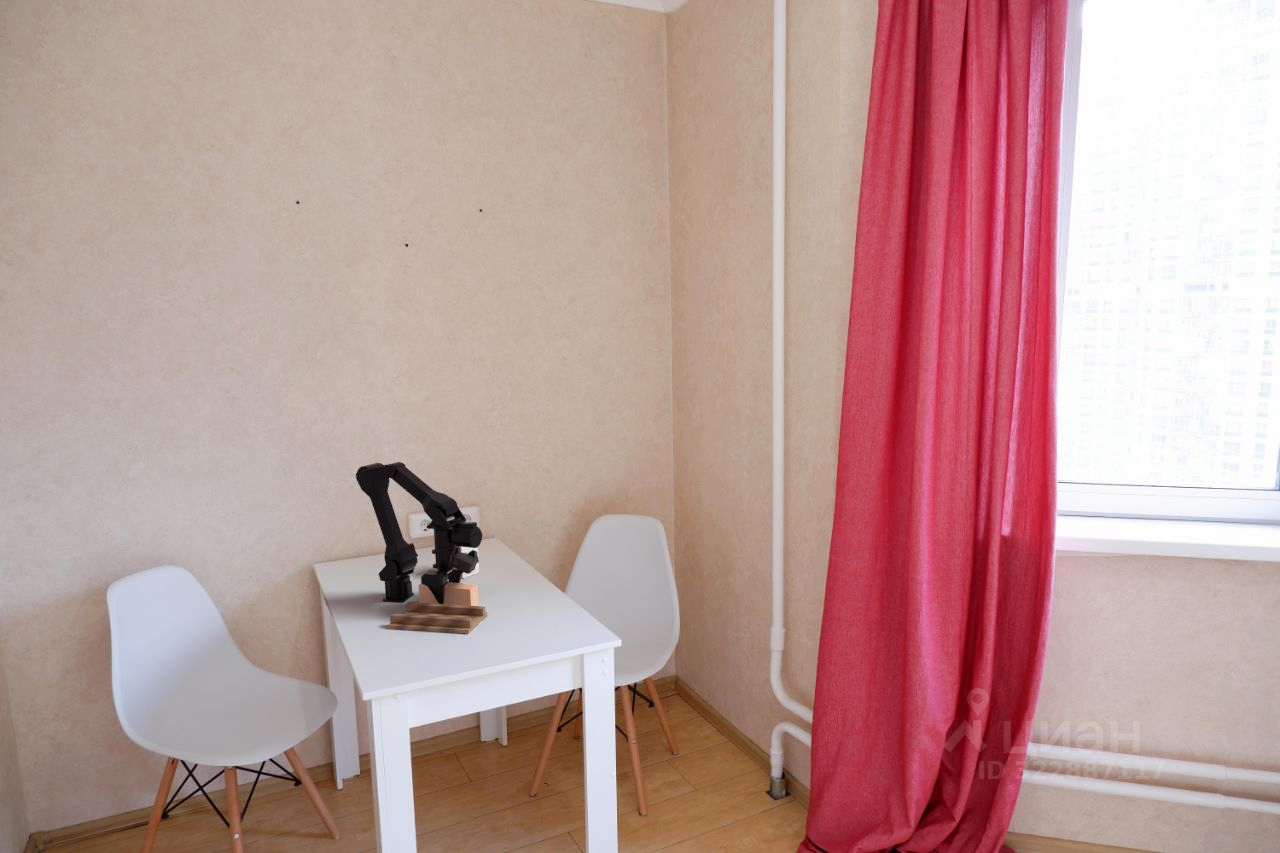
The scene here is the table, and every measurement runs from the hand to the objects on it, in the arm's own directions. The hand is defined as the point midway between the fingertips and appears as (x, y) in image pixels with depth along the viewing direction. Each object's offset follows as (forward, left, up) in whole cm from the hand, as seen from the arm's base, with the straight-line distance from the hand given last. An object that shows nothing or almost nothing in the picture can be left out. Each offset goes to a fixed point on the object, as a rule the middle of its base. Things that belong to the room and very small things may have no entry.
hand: (448, 599), depth 208 cm
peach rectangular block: (0, 0, -2) cm, 2 cm away
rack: (+3, -12, -2) cm, 12 cm away
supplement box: (-8, +26, -2) cm, 27 cm away
